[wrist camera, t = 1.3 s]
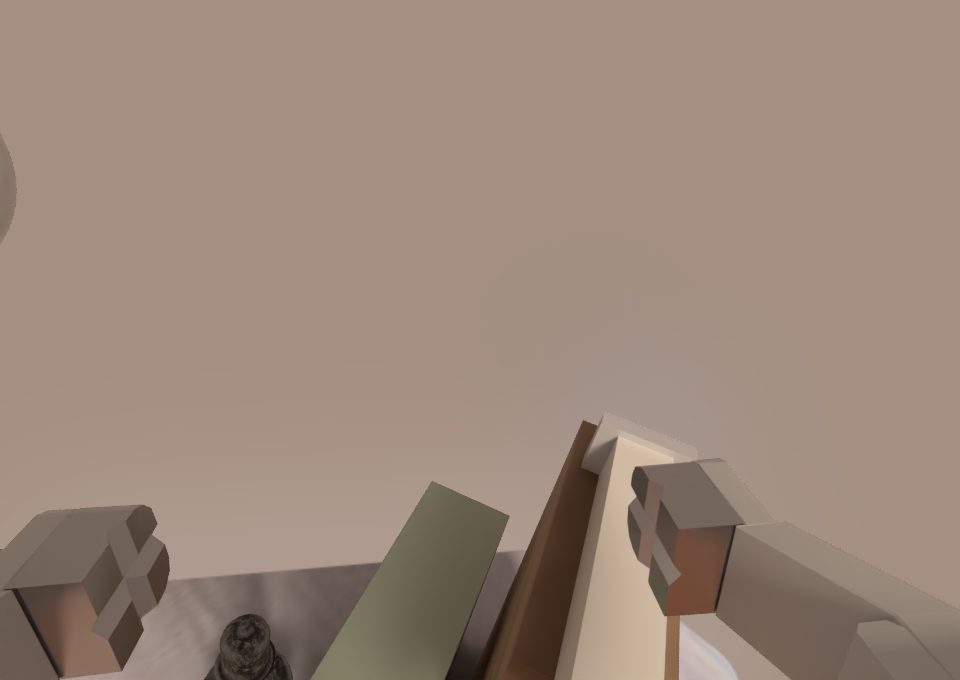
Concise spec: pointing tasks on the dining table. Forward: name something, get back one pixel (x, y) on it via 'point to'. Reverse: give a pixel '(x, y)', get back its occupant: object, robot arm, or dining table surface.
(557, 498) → the tall stand
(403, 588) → the olive grey block
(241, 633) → the stone chess bishop
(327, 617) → the dining table surface
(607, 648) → the beige rectangular bar
